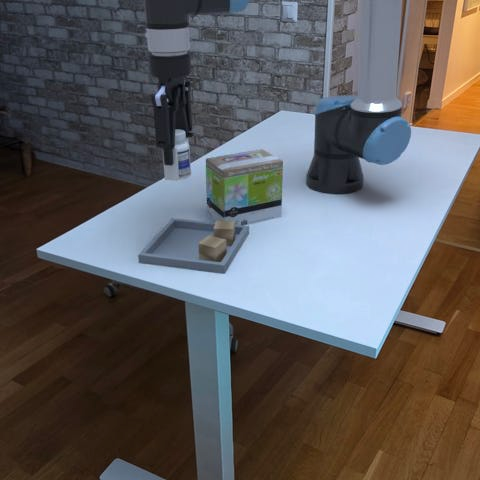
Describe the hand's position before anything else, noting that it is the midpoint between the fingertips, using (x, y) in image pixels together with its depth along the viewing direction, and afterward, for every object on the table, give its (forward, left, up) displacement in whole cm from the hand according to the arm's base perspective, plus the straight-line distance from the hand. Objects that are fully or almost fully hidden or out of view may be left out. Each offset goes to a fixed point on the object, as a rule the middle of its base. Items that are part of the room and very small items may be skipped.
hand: (177, 174), depth 112 cm
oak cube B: (-8, +4, -16) cm, 18 cm away
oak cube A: (-8, -4, -16) cm, 18 cm away
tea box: (-9, -18, -17) cm, 26 cm away
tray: (-3, 0, -17) cm, 17 cm away
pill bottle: (0, 0, 0) cm, 0 cm away
